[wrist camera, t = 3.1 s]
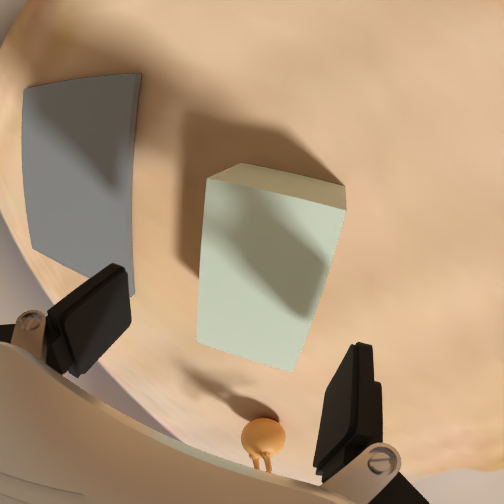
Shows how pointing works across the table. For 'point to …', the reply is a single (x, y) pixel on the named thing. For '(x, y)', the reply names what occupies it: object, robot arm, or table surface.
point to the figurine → (263, 440)
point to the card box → (265, 260)
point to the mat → (81, 170)
